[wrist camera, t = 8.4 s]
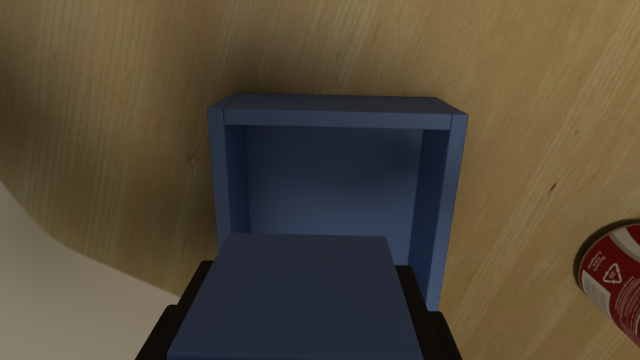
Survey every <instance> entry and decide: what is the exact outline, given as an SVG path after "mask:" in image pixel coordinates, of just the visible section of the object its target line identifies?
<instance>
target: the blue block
mask: <svg viewBox="0 0 640 360" xmlns="http://www.w3.org/2000/svg"><path fill="white" fill-rule="evenodd" d="M167 360H424V359H423V356H422V352H421V349H420V346H419V343H418V339H417V336H416V333H415V330H414V326H413V323H412V320H411V316H410V313H409V310H408V307H407V303H406V300H405V297H404V294H403V290H402V287H401V284H400V281H399V277H398V274H397V271H396V268H395V264H394V261H393V258H392V255H391V251H390V248H389V245H388V241H387V238H386V237H385V236H355V235H312V234H269V233H228V234H227V236H226V238H225V240H224V242H223V244H222V246H221V248H220V250H219V252H218V254H217V256H216V258H215V260H214V262H213V264H212V266H211V268H210V270H209V272H208V274H207V276H206V278H205V280H204V282H203V283H202V285H201V287H200V289H199V291H198V293H197V295H196V297H195V299H194V301H193V303H192V305H191V307H190V309H189V311H188V313H187V315H186V317H185V319H184V321H183V323H182V325H181V327H180V329H179V330H178V332H177V334H176V336H175V338H174V340H173V342H172V344H171V346H170V348H169V350H168V352H167Z"/></svg>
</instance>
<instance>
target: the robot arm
mask: <svg viewBox="0 0 640 360" xmlns="http://www.w3.org/2000/svg"><path fill="white" fill-rule="evenodd" d="M213 262H214V261H208V260H203V261H202V262H201V263H200V265H199V267H198V269H197V270H196V272H195V274H194V276H193V277H192V279H191V281H190V283H189V284H188V286H187V288H186V290H185V292H184V293H183V295H182V297H181V299H180V300H179V302H178V304H177V305H169V306H167V308H166V309H165V310H164V312H163V314H162V315H161V317H160V319H159V320H158V322H157V324H156V325H155V327H154V328H153V330H152V332H151V334H150V335H149V337H148V339H147V340H146V342H145V344H144V345H143V347H142V348H141V350H140V352H139V353H138V355H137V357H136V359H135V360H167V352H168V350H169V348H170V346H171V344H172V342H173V340H174V338H175V336H176V334H177V332H178V330H179V329H180V327H181V325H182V323H183V321H184V319H185V317H186V315H187V313H188V311H189V309H190V307H191V305H192V303H193V301H194V299H195V297H196V295H197V293H198V291H199V289H200V287H201V285H202V283H203V282H204V280H205V278H206V276H207V274H208V272H209V270H210V268H211V266H212V264H213ZM395 268H396V271H397V274H398V277H399V281H400V284H401V287H402V290H403V294H404V297H405V300H406V303H407V307H408V310H409V313H410V316H411V320H412V323H413V326H414V330H415V333H416V336H417V339H418V343H419V346H420V349H421V352H422V356H423V359H424V360H462V357H461V355H460V353H459V350H458V348H457V346H456V343H455V341H454V339H453V336H452V334H451V332H450V329H449V327H448V325H447V322H446V320H445V318H444V316H443V314H442V313H441V312H440V311H428V309H427V306H426V304H425V301H424V298H423V296H422V293H421V290H420V288H419V285H418V283H417V280H416V277H415V275H414V272H413V269H412V267H411V266H410V265H395Z"/></svg>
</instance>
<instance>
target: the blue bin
mask: <svg viewBox="0 0 640 360" xmlns="http://www.w3.org/2000/svg"><path fill="white" fill-rule="evenodd" d="M207 115H208V127H209V140H210V152H211V165H212V177H213V190H214V202H215V215H216V227H217V240H218V252H219V250H220V248H221V246H222V244H223V242H224V240H225V238H226V236H227V234H228V233H269V234H312V235H355V236H385V237H386V238H387V241H388V245H389V248H390V251H391V255H392V258H393V261H394V264H395V265H410V266H411V267H412V269H413V272H414V275H415V277H416V280H417V283H418V285H419V288H420V290H421V293H422V296H423V298H424V301H425V304H426V306H427V309H428V311H438V307H439V300H440V294H441V288H442V281H443V275H444V268H445V262H446V256H447V249H448V243H449V237H450V230H451V224H452V217H453V211H454V205H455V198H456V192H457V185H458V179H459V173H460V166H461V160H462V154H463V147H464V141H465V134H466V128H467V122H468V114H466V113H464V112H462V111H460V110H458V109H456V108H454V107H452V106H451V105H449V104H447V103H445V102H443V101H441V100H439V99H437V98H431V97H390V96H348V95H307V94H265V93H233V94H232V95H230V96H228V97H226V98H224V99H223V100H221V101H219V102H217V103H216V104H214V105H212V106H210V107H209V108H207Z"/></svg>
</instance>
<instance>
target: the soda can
mask: <svg viewBox="0 0 640 360" xmlns="http://www.w3.org/2000/svg"><path fill="white" fill-rule="evenodd" d="M578 280H579V284H580V287H581V289H582V291H583V292H584V294H585V295H586V296H587V297H588V298H589V299H590V300H591V301H592V302H593V303H594V304H595V305H596V306H597V307H598V308H599V309H600V310H601V311H603V312H604V313H605V314H606V315H607V316H608V317H609V318H610V319H611V320H612V321H613V322H614V323H615V324H616V325H617V326H618V327H619V328H620V329H621V330H622V331H623V332H624V333H625V334H626V335H627V336H628V337H629V338H630V339H631V340H632V341H633V342H634V343H635V344H636V345H637V346H638V347H639V348H640V224H630V225H626V226H622V227H619V228H616V229H614V230H612V231H610V232H608V233H606V234H604V235H603V236H602V237H600V238H599V239H598V240H596V241H595V242H594V243H593V244H592V245H591V246H590V247H589V249H588V250H587V251H586V253H585V254H584V256H583V258H582V260H581V262H580V266H579V271H578Z"/></svg>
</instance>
